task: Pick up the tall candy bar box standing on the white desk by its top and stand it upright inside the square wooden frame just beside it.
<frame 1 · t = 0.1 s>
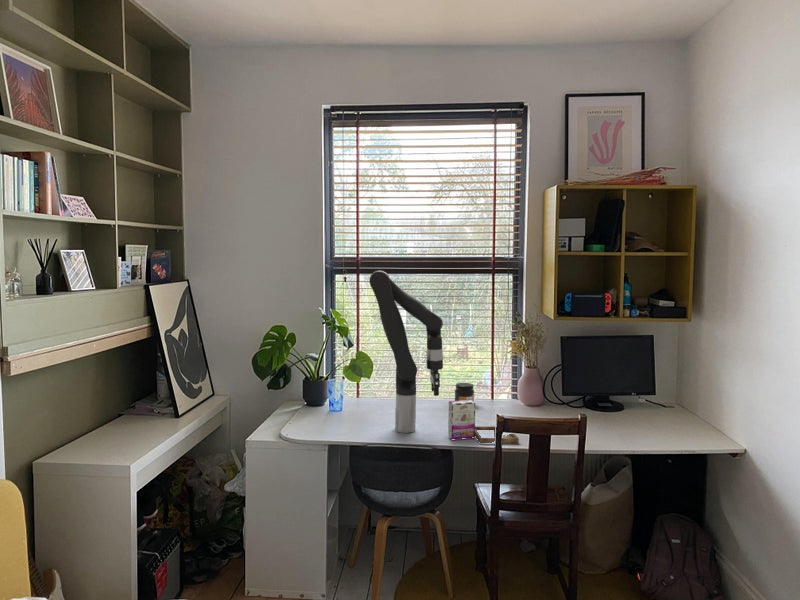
hand: (435, 393, 252), 17 cm above the table, tool pointing down, fingers open, 8 cm apart
candy bar box: (461, 438, 243), on the table
supplement container: (464, 406, 296), on the table
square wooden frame: (494, 437, 244), on the table
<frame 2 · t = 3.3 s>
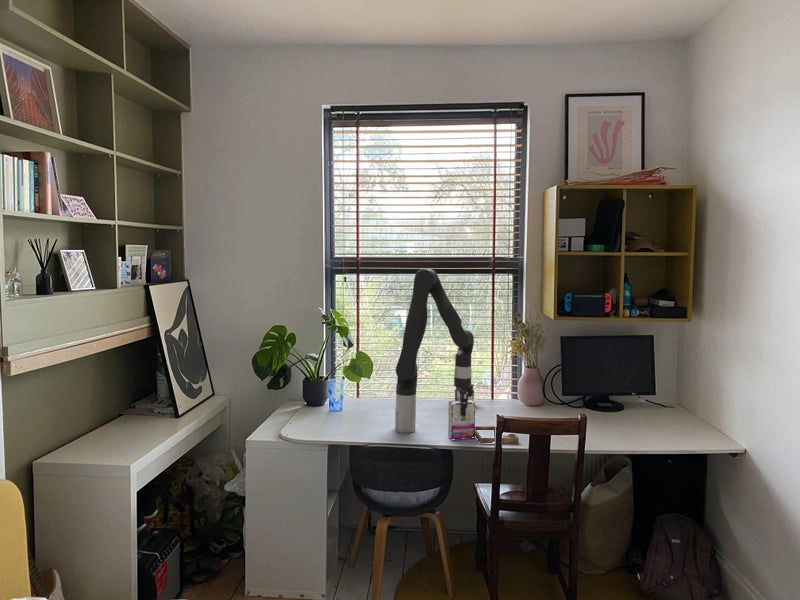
hand: (461, 413, 243), 11 cm above the table, tool pointing down, fingers closed on candy bar box, 5 cm apart
candy bar box: (461, 438, 243), on the table, touching gripper
everything else where it was.
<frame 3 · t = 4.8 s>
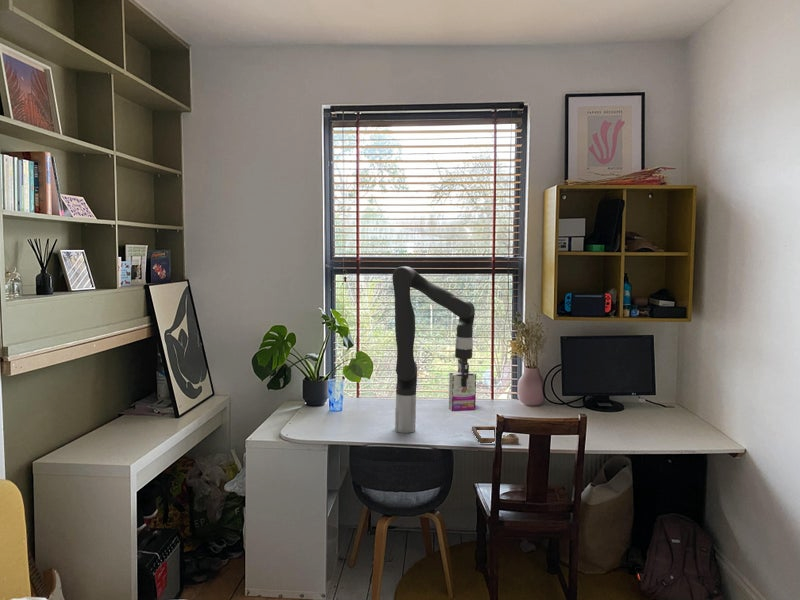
hand: (462, 384, 242), 24 cm above the table, tool pointing down, fingers closed on candy bar box, 5 cm apart
candy bar box: (461, 410, 242), point 13 cm above the table, touching gripper
everything else where it was.
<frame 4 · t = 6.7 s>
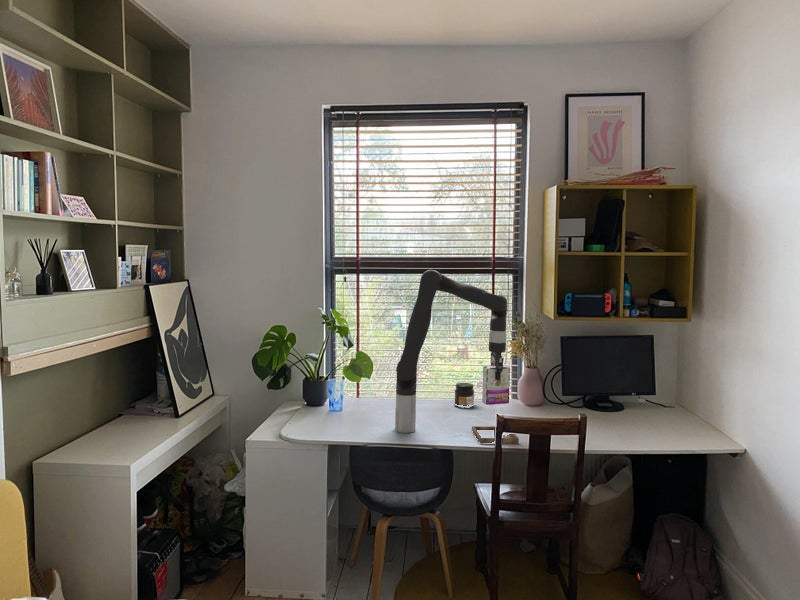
hand: (496, 378, 242), 27 cm above the table, tool pointing down, fingers closed on candy bar box, 5 cm apart
candy bar box: (495, 403, 243), point 16 cm above the table, touching gripper
everything else where it was.
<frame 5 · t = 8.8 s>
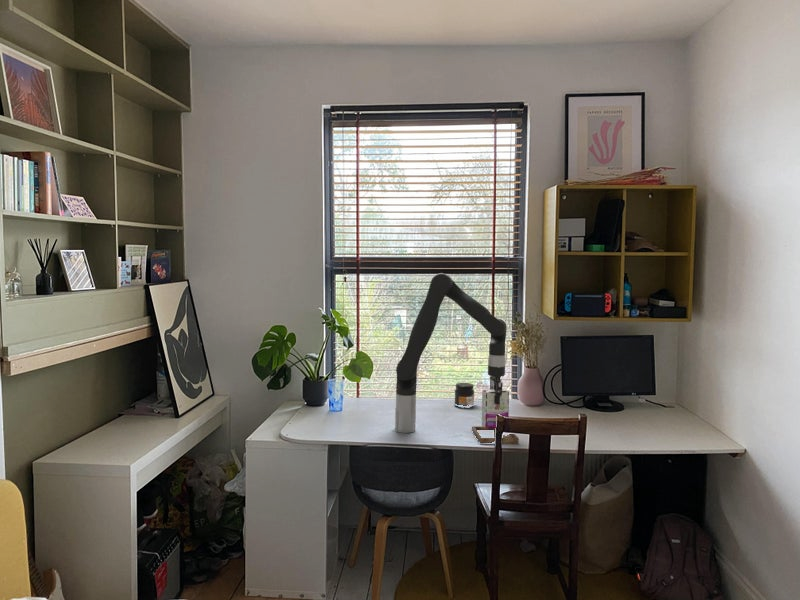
hand: (495, 402, 243), 16 cm above the table, tool pointing down, fingers closed on candy bar box, 5 cm apart
candy bar box: (494, 426, 244), point 5 cm above the table, touching gripper
everything else where it was.
when the fingers open (13 cm above the table, at t = 10.3 s): candy bar box drops 1 cm, resting on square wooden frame.
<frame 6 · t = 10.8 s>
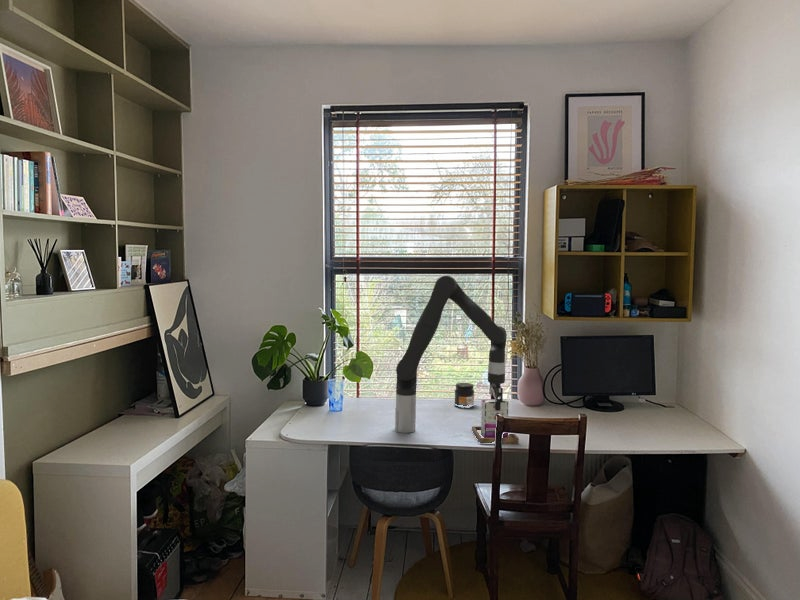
hand: (495, 407, 243), 14 cm above the table, tool pointing down, fingers open, 8 cm apart
candy bar box: (494, 436, 244), resting on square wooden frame
everything else where it was.
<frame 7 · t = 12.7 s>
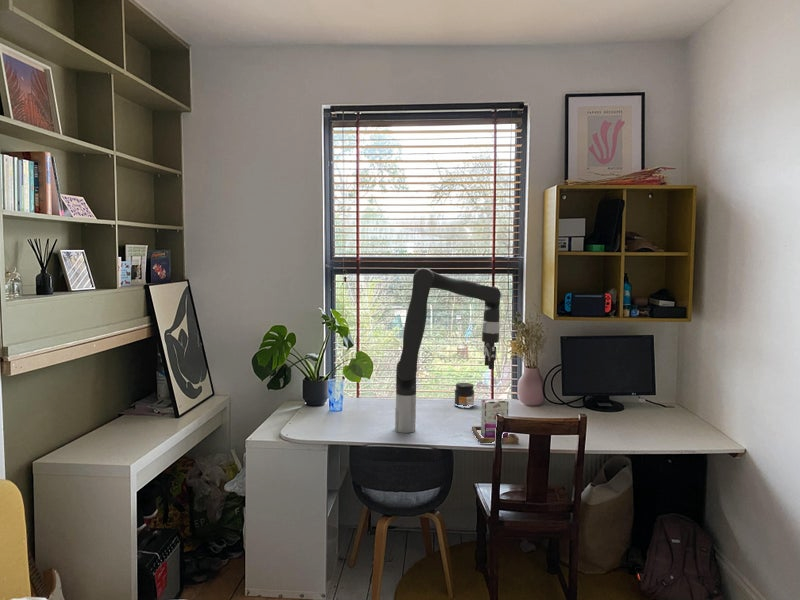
hand: (489, 367, 246), 31 cm above the table, tool pointing down, fingers open, 8 cm apart
nothing on the table moved.
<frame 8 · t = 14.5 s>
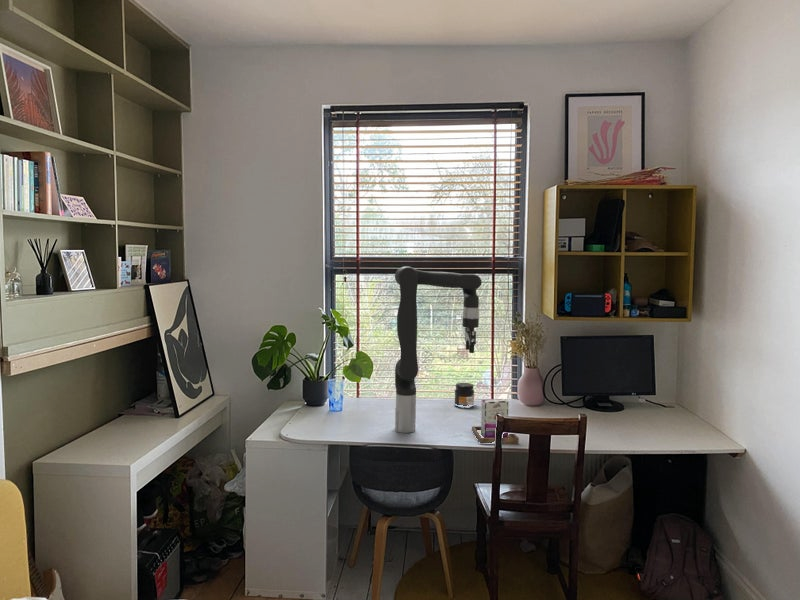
hand: (469, 351, 257), 36 cm above the table, tool pointing down, fingers open, 8 cm apart
nothing on the table moved.
at the end: candy bar box 0.2 cm off-centre on the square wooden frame, point 0.4 cm above the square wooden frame's base; candy bar box tilted 0°; the gripper is holding nothing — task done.
